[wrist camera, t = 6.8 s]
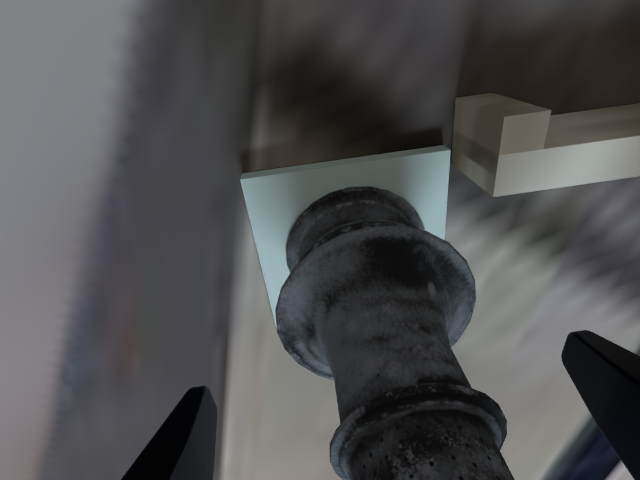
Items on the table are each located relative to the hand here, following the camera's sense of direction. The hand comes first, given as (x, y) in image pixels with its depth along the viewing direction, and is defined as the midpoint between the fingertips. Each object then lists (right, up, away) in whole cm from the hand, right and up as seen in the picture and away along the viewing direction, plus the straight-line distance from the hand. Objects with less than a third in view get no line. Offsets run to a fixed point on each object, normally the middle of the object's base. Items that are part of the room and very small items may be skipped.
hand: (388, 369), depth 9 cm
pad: (-1, +3, +5) cm, 6 cm away
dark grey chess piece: (0, +3, +5) cm, 6 cm away
